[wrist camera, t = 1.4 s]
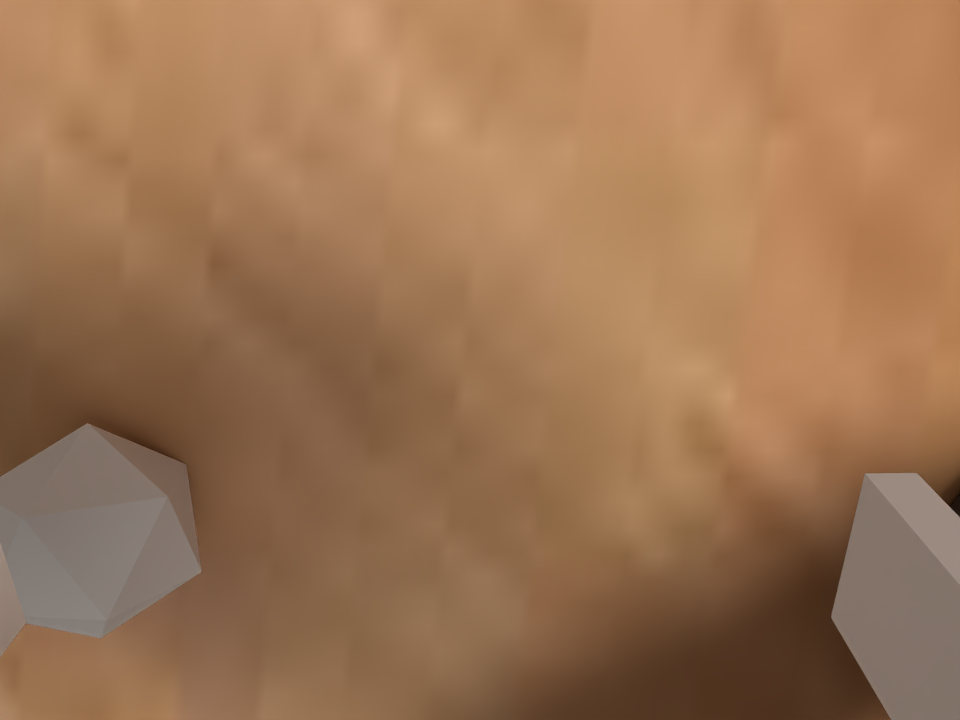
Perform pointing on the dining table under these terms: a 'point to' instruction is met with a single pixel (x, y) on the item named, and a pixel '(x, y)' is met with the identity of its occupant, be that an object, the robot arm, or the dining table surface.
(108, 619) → the die
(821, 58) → the dining table surface
